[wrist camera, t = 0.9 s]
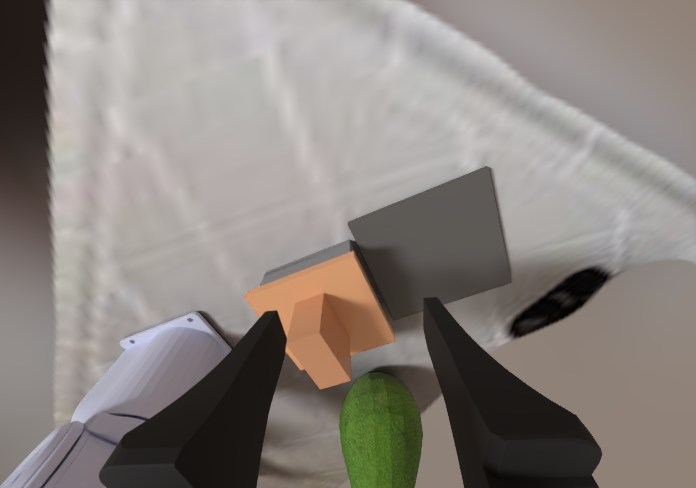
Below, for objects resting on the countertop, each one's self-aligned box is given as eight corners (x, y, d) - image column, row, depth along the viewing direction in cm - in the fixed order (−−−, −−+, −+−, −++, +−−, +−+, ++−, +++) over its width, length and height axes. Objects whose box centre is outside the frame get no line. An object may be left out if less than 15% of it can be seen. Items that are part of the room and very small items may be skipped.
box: (307, 333, 28) (304, 358, 25) (265, 272, 25) (256, 293, 22) (382, 308, 27) (387, 331, 24) (349, 239, 23) (350, 258, 20)
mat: (393, 317, 27) (393, 320, 27) (347, 222, 22) (347, 224, 22) (508, 279, 25) (511, 282, 25) (486, 166, 20) (488, 167, 20)
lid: (303, 354, 27) (293, 415, 22) (251, 283, 23) (223, 338, 18) (392, 325, 25) (404, 384, 20) (353, 244, 21) (355, 292, 16)
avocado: (346, 351, 29) (346, 496, 19) (418, 359, 30) (458, 503, 19) (335, 398, 33) (331, 541, 23) (400, 404, 34) (425, 546, 23)
